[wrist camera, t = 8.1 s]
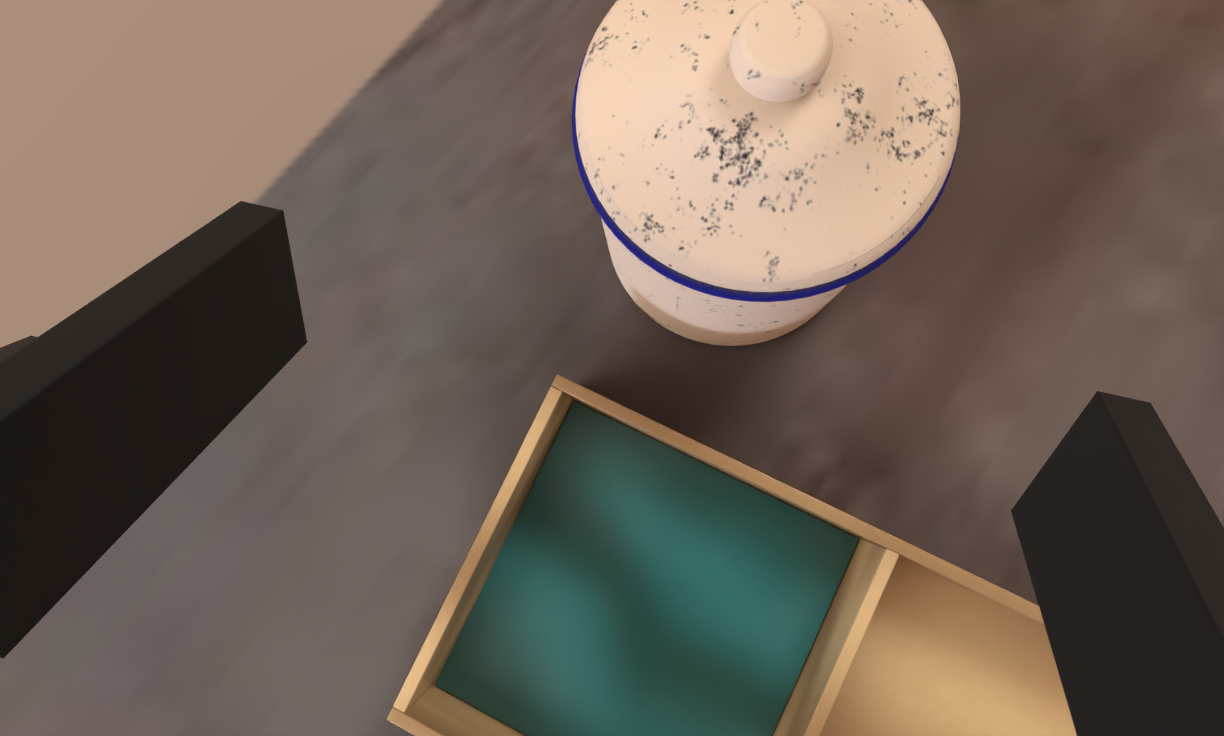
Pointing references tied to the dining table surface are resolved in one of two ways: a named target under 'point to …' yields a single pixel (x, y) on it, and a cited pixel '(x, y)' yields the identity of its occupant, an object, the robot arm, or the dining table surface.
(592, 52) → the teacup with lid
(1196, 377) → the dining table surface
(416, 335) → the dining table surface
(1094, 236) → the dining table surface
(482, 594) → the organizer
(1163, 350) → the dining table surface
